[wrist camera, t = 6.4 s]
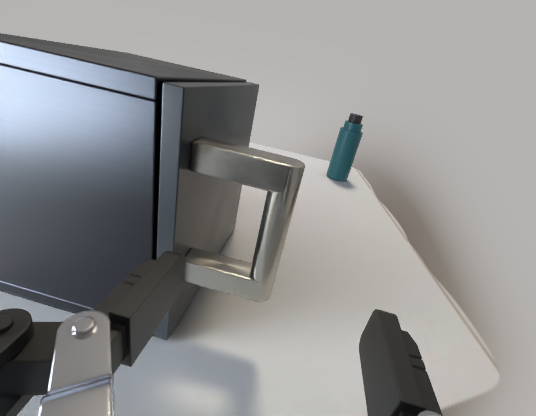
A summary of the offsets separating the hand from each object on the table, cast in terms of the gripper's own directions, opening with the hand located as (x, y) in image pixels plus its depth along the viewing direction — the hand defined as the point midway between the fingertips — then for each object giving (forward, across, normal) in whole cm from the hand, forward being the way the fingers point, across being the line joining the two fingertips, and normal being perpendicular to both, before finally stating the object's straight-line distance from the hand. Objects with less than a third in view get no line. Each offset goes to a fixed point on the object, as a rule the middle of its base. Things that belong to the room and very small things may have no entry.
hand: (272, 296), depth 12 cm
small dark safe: (+11, +13, +9) cm, 19 cm away
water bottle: (+50, -8, +9) cm, 52 cm away
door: (+11, +3, +9) cm, 15 cm away
